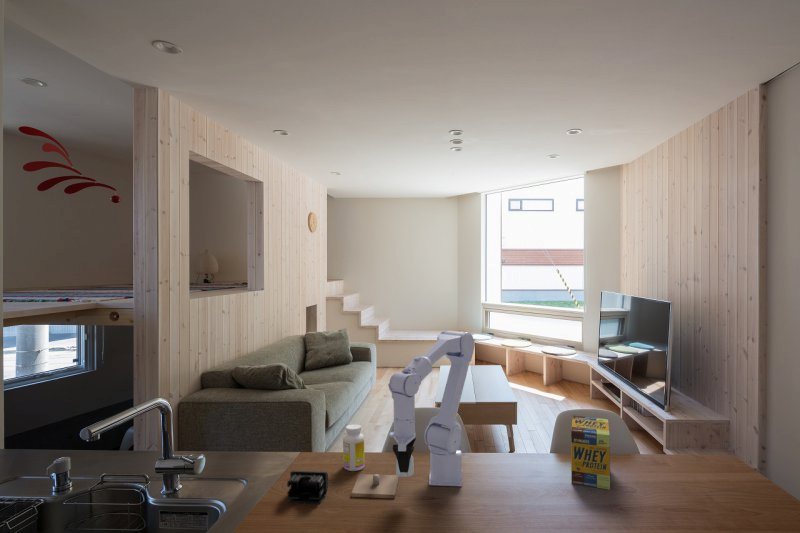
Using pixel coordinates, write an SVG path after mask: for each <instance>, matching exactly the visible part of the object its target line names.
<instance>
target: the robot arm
mask: <svg viewBox="0 0 800 533" xmlns="http://www.w3.org/2000/svg"><path fill="white" fill-rule="evenodd" d="M475 347H476V342H475V339H474V336H473V334H472V333H471V332H467V331H466V332H461V331H454V330H447V329H445V330H442V331H441V332H440V333H439V334H437V338H436V341H435V343H434V344H433V345H432V346H431V348H430V349H428V350H427V352H425V354H424V355H423V356H422V355H418V356H415V357H414V358H413V360H412V361H411V362H409V364H408V365H407V366H405V367H404V368H403V369H402V370H401V372H400V371H397V372H395V373H394V374H392V375H391V377H390V380H389V383H388V389H389V391H390V393H391V398H392V401H393V431H390V432H389V437H390V438H393V439H394V440H395V442H396V444H393V445H392V451H393V453H394V455H395V458H396V457H397V461H398V466H399V470H400V472H406V473H407V472H408V470H409V463H410V457H411V455H412V454H413V452H414V449H415V446H414V444H415V442H416V439H417V434H416V417H415V416H416V415H415V413H416V412H415V410H416V408H415V407H416V406H415V405H416V402H415V400H416V399H415V396H416V395H417V393H418V391H419V388H420V386H421V384H422V382H423V381H424V380H425V378H427V376H428V375H430V374H431V372H432V371H433V365H435V363H437V362H438V361H439V360H440V359H441V358H443V357H444V356H445V357H446V358H447V359H448V360H449V361H450V367H449V371H448V375H447V378H446V383H445V386H444V392H443V394H442V399H441V402H440V406H439V410H438V414H436V415H435V416H434V415H433V417H431V418H430V420H429V424H428V425H427V427H426V428H425V431H424V434H423V436H424V437H423V438H424V442H425V444H426V445H427V447H428V450H430V454H429V455H430V456H429V457H430V458H429V459H430V471H429V480H428V485H429V486H446V487H447V486H449V487H462V486H463V476H464V471H463V469H462V468H463V467H462V466H463V465H462V462H463V460H462V458H463V457H462V450H460V449H459V448H460V447H461V443H462V437H461V434H462V426H461V425H460V423H459V421H458V420H457V415H458V411H459V407H460V404H461V399H462V395H463V392H464V391H463V390H464V387H465V382H466V378H467V374H468V371H469V366H470V363H471V361H472V359H473V355H474V352H475V351H474V350H475Z"/></svg>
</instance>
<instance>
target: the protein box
mask: <svg viewBox="0 0 800 533" xmlns="http://www.w3.org/2000/svg"><path fill="white" fill-rule="evenodd" d="M609 423H610V422H609V419H607V418H598V417H591V416H590V417H589V416H581V415H572V421H571V429H570V464H571V466H570V467H571V468H570V471H571V477H570V478H571V485H572V484H573V485H578V486H584V487H589V488H590V487H591V488H598V489H602V490H603V489H604V490H611V436H610V435H611V434H610V424H609Z"/></svg>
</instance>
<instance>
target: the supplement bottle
mask: <svg viewBox="0 0 800 533" xmlns="http://www.w3.org/2000/svg"><path fill="white" fill-rule="evenodd" d="M345 431H346V432H345V433H346V434H344V436H343V437H342V450H343V452H342V453H343V454H342V455H343V456H342V458H343V459H342V461H343V468H344V470H346V471H347V472H349V471H350V472H356V471H361V470H363V469H364V467H365V466H366V464H365V463H366V462H365V458H366V457H365V437H364V434H363V433H361V431H362V426H361V425H360V424H353V423H352V424H348V425H346V426H345Z"/></svg>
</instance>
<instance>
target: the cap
mask: <svg viewBox="0 0 800 533" xmlns="http://www.w3.org/2000/svg"><path fill="white" fill-rule="evenodd" d="M414 468H415V467H414V455H412V454H411V457H410V463H409V470H408V472H407V473H406V472H400V470H399V466H398V461H397V457H396V456H395V475H398V476H399V478H408V477H412V476H414V473H415V472H414V471H415V470H414Z"/></svg>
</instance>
